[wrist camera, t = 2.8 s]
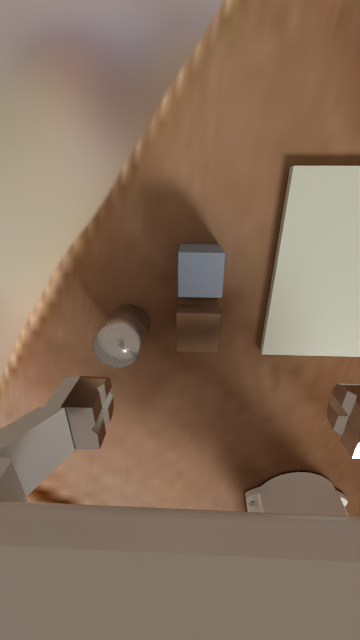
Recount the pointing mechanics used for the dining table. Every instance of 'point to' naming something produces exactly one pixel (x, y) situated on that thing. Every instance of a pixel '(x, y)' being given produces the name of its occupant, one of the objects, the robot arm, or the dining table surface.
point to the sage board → (317, 266)
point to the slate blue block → (200, 270)
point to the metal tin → (121, 336)
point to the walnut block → (197, 325)
